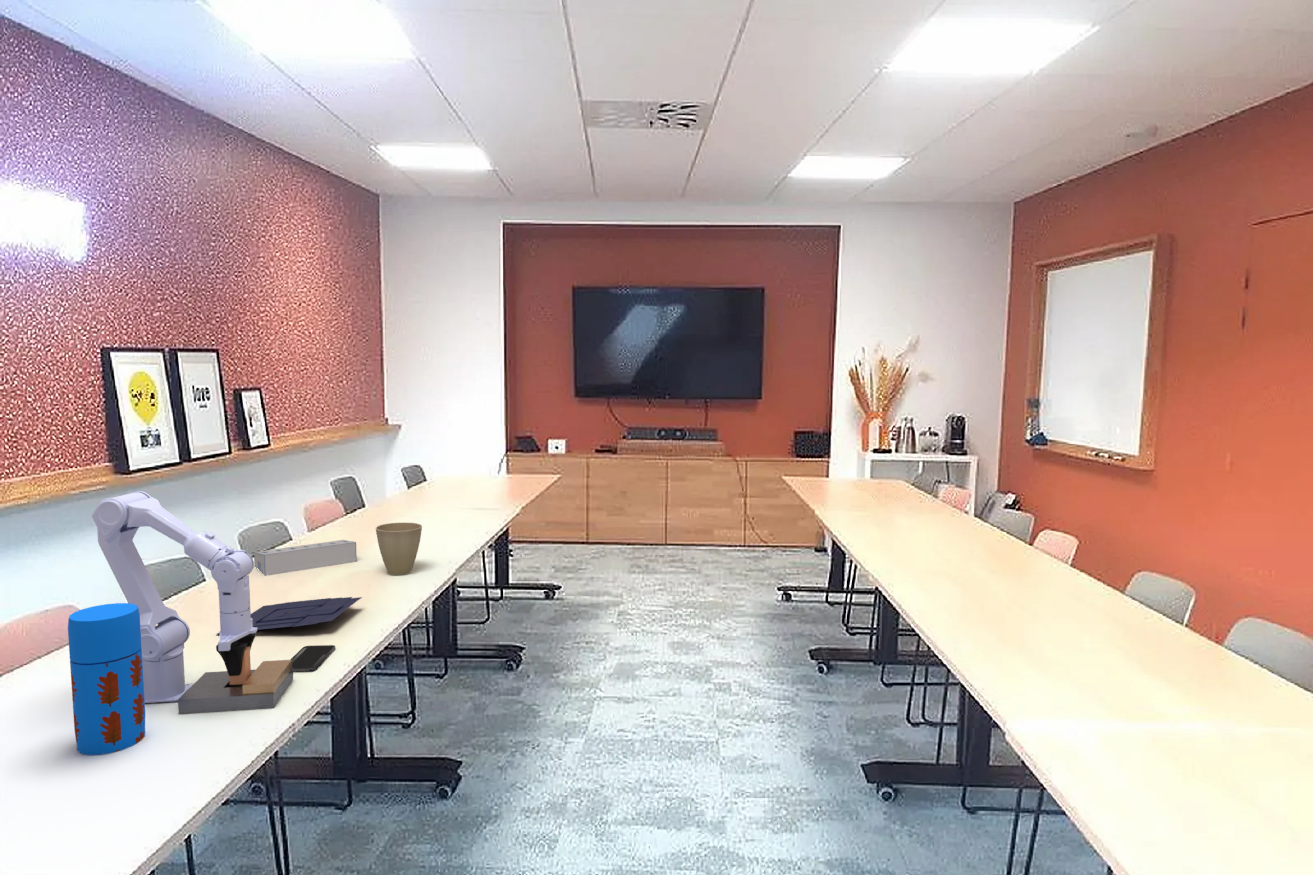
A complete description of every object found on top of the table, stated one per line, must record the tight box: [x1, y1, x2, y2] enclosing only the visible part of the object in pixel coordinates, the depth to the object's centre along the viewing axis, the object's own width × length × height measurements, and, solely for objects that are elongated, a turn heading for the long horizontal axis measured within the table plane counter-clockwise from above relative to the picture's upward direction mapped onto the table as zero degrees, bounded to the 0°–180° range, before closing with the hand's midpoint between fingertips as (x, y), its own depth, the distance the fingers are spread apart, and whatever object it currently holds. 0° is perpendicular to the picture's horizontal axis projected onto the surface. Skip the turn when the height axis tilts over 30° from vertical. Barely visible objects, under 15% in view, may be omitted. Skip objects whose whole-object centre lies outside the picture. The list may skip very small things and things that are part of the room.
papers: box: [216, 596, 363, 635], centre depth 211 cm, size 24×30×4 cm
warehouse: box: [253, 539, 358, 577], centre depth 269 cm, size 30×14×8 cm, turn 130°
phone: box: [289, 644, 336, 674], centre depth 184 cm, size 8×1×15 cm
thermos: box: [67, 602, 146, 756], centre depth 143 cm, size 11×11×25 cm
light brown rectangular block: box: [229, 646, 252, 685], centre depth 163 cm, size 3×3×7 cm
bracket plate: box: [177, 659, 294, 715], centre depth 163 cm, size 18×14×5 cm
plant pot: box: [375, 522, 423, 576], centre depth 259 cm, size 15×15×16 cm
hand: (238, 671), depth 163 cm, fingers closed on light brown rectangular block, 3 cm apart
